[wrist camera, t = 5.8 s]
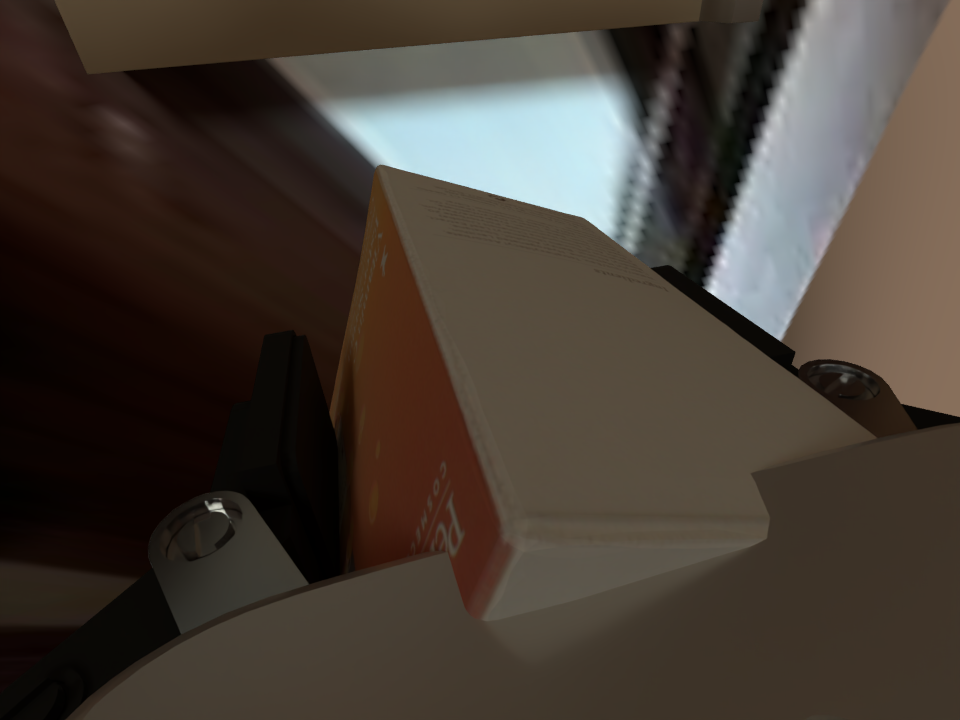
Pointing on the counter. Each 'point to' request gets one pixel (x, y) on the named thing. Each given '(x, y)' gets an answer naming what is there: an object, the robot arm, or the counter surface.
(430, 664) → the robot arm
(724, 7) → the shelf board
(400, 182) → the small box
